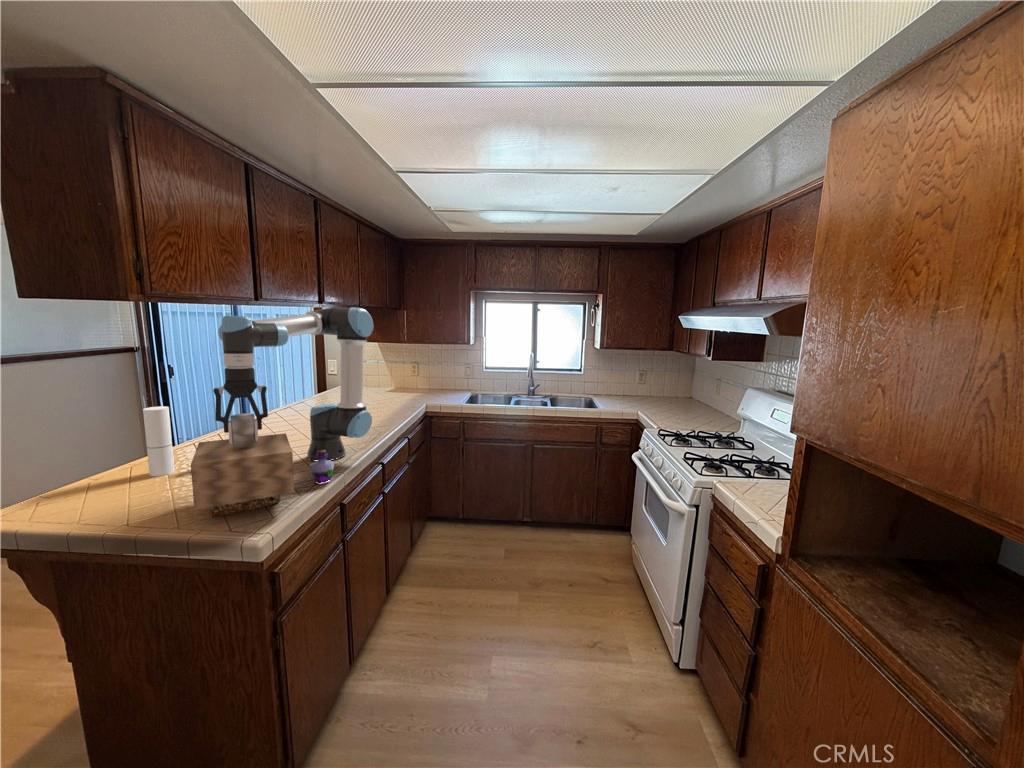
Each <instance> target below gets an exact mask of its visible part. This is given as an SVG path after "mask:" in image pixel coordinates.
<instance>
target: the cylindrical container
mask: <svg viewBox="0 0 1024 768" xmlns="http://www.w3.org/2000/svg"><path fill="white" fill-rule="evenodd" d="M142 413H143V414H142V415H143V421H144V422H143V424H144V425H143V426H144V432H145V433H144V435H145V444H146V453H147V454H146V455H147V463H148V464H147V465H148V472H149V473H148V474H149V477H154V476H155V477H162V475H164V476H168V475H171V474H173V473H175V470H176V469H175V462H174V461H175V460H174V451H173V440H172V438H173V437H172V429H171V428H172V427H171V418H170V417H171V416H170V406H166V405H165V406H163V405H161V406H160V405H159V406H149V407H145V408H143V409H142ZM167 474H168V475H167Z"/></svg>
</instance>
